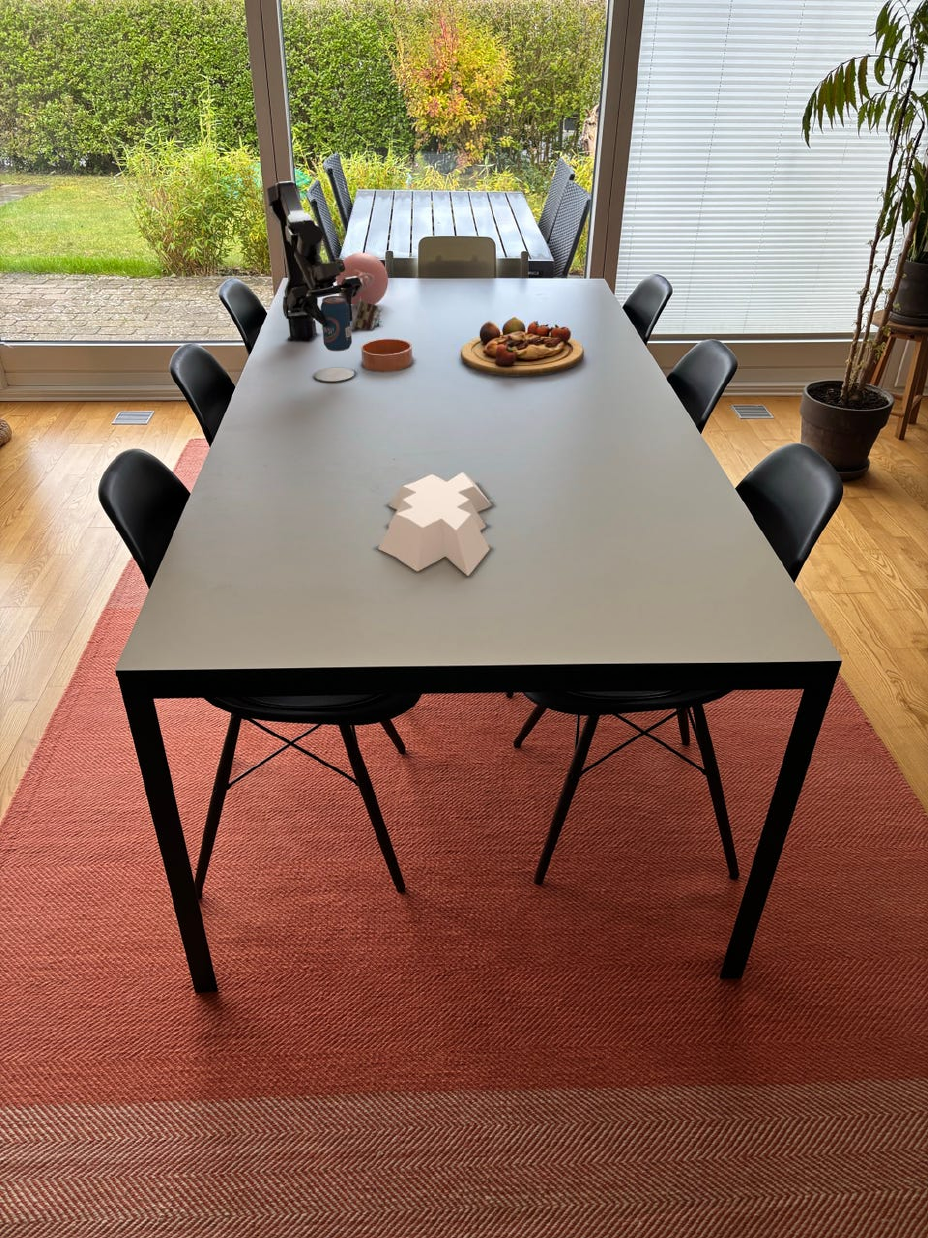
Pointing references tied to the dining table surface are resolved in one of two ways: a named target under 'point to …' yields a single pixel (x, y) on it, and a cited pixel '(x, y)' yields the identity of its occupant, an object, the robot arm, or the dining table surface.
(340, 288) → the robot arm
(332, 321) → the soda can
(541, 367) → the wooden plate
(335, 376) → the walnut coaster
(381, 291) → the balloon
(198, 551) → the dining table surface
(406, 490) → the tapered cross block
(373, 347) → the orange bowl
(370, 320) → the chocolate cake
